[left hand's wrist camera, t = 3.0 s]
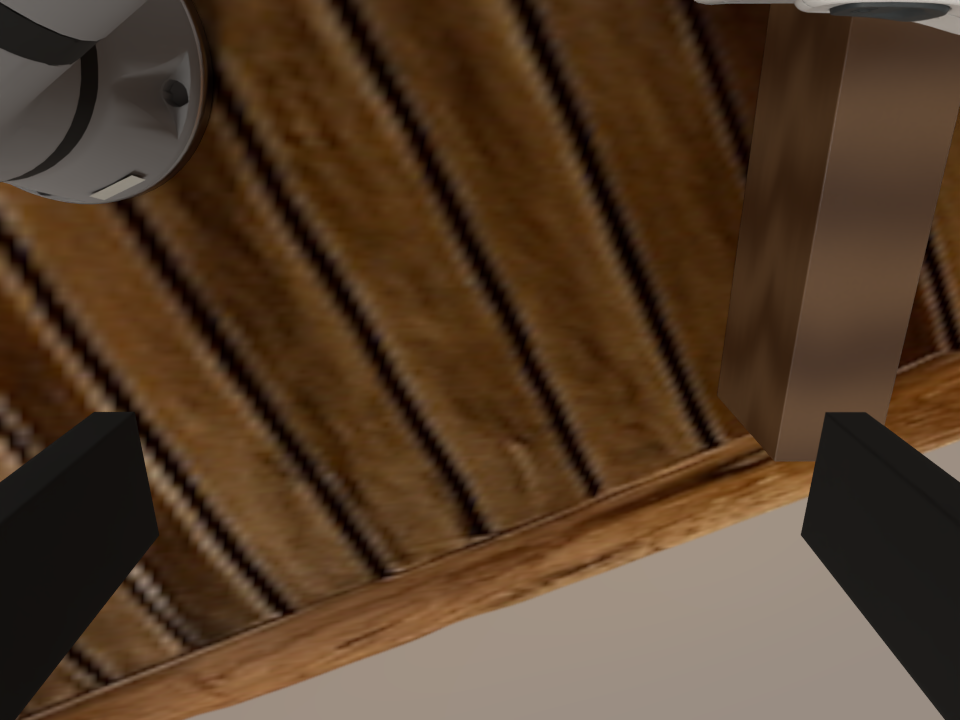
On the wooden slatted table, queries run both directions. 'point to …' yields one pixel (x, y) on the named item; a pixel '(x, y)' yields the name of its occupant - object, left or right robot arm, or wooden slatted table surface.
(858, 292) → the bar
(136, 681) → the wooden slatted table surface
